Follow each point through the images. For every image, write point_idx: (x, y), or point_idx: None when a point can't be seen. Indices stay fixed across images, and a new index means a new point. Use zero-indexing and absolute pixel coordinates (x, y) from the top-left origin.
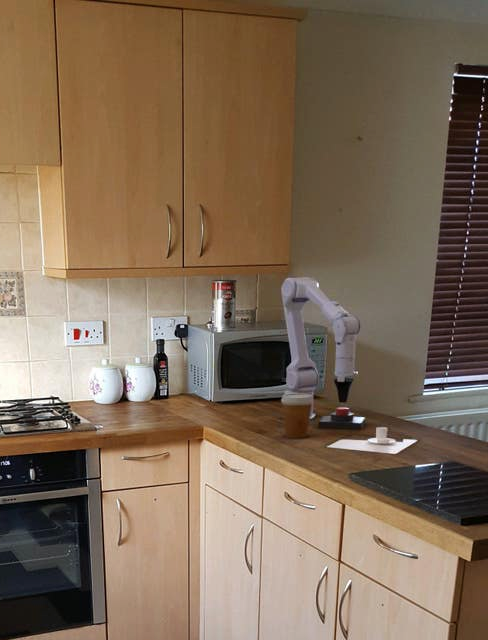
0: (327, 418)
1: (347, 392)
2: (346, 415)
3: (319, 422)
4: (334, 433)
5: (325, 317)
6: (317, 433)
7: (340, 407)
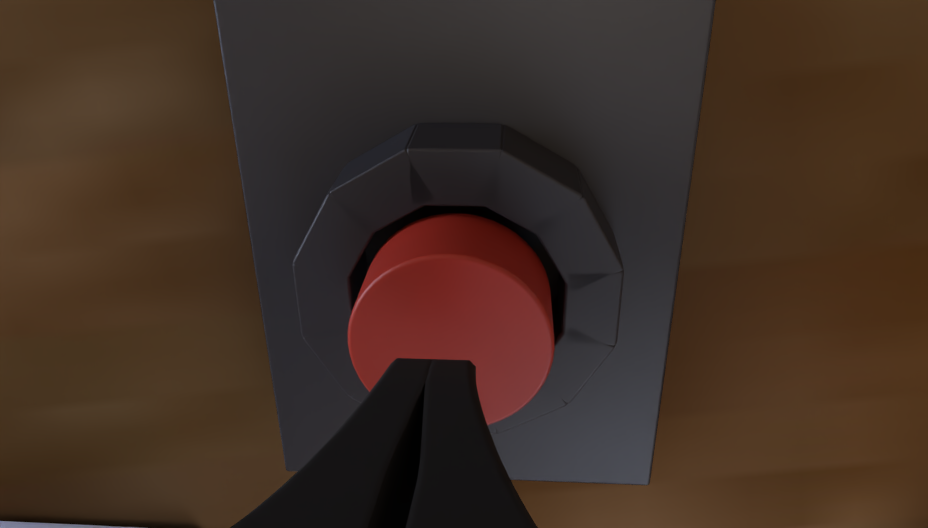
0: None
1: (510, 485)
2: (603, 235)
3: (650, 470)
4: (913, 257)
5: None
6: (906, 414)
7: None
